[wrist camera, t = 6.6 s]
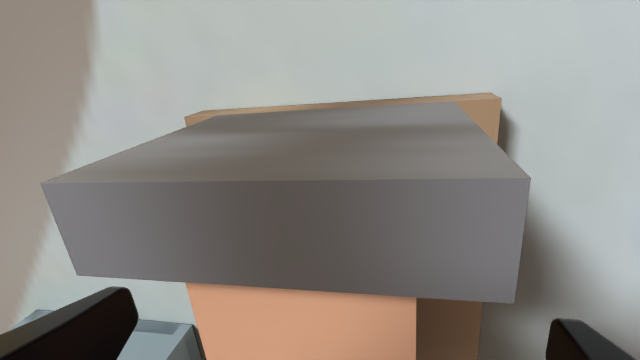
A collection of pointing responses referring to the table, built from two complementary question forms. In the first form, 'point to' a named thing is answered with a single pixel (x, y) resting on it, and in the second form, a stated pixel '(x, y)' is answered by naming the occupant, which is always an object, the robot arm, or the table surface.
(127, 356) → the tray
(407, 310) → the block
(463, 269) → the rail base
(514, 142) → the table surface
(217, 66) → the table surface
